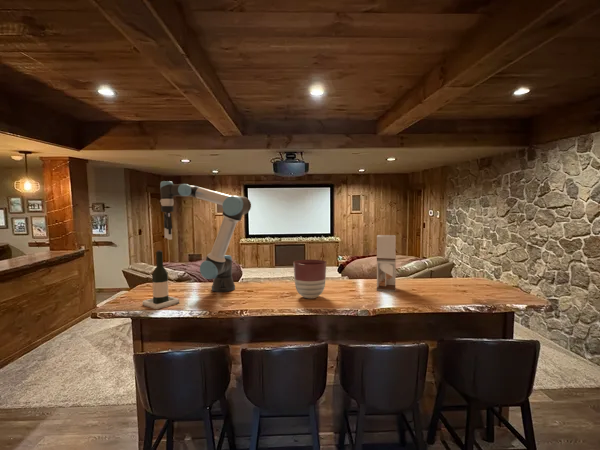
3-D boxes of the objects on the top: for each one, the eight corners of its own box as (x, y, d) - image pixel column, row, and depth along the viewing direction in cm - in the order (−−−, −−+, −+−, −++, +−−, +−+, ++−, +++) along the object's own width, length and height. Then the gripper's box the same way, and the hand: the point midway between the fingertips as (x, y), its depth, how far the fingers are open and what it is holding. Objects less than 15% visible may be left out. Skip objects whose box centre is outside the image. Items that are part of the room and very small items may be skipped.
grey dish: (165, 299, 199) (165, 295, 198) (179, 303, 190) (179, 298, 190) (142, 305, 187) (142, 300, 187) (156, 309, 179) (156, 304, 179)
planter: (324, 302, 188) (323, 265, 187) (290, 301, 192) (290, 264, 191) (328, 293, 207) (328, 259, 206) (297, 292, 211) (297, 259, 210)
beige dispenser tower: (376, 290, 214) (376, 236, 212) (377, 286, 224) (377, 235, 222) (395, 291, 211) (395, 236, 209) (395, 287, 221) (395, 235, 219)
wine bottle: (155, 305, 183) (153, 251, 181) (151, 302, 190) (149, 250, 188) (170, 303, 188) (169, 250, 186) (166, 299, 195) (165, 248, 193)
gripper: (158, 205, 223) (159, 237, 224) (163, 205, 201) (164, 240, 202) (170, 205, 226) (171, 236, 227) (176, 205, 204) (177, 239, 206)
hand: (168, 238), depth 215 cm, fingers open, 13 cm apart
